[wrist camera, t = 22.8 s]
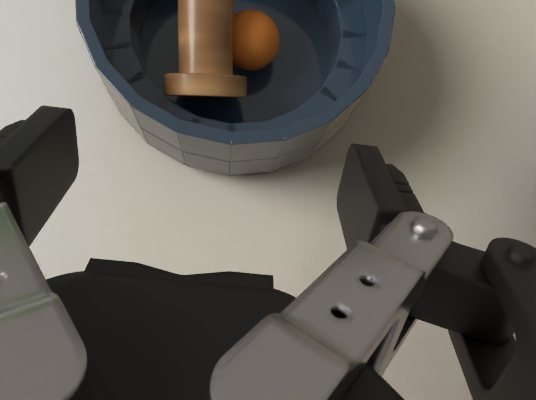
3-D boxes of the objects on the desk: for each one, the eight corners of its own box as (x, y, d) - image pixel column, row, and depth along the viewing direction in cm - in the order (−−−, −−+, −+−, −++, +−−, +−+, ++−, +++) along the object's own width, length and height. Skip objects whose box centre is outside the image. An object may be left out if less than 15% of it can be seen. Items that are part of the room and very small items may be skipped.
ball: (280, 44, 26) (235, 74, 26) (253, -6, 24) (206, 26, 24) (296, 55, 23) (247, 88, 23) (268, 0, 22) (215, 35, 22)
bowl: (165, 219, 23) (149, 195, 18) (68, -11, 26) (27, -92, 20) (401, 119, 26) (448, 73, 21) (295, -82, 28) (312, -171, 23)
